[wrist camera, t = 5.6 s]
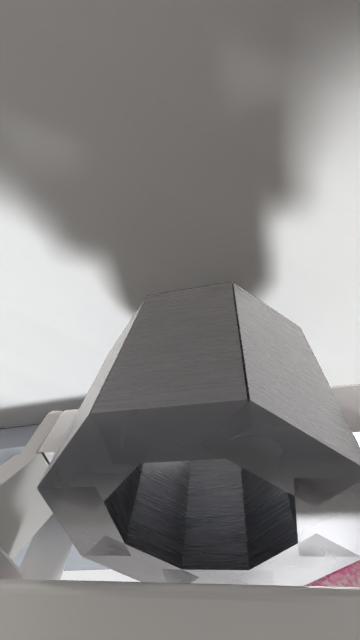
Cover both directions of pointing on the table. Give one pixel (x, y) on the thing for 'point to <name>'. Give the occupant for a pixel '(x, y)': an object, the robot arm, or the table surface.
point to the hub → (210, 450)
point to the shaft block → (50, 540)
